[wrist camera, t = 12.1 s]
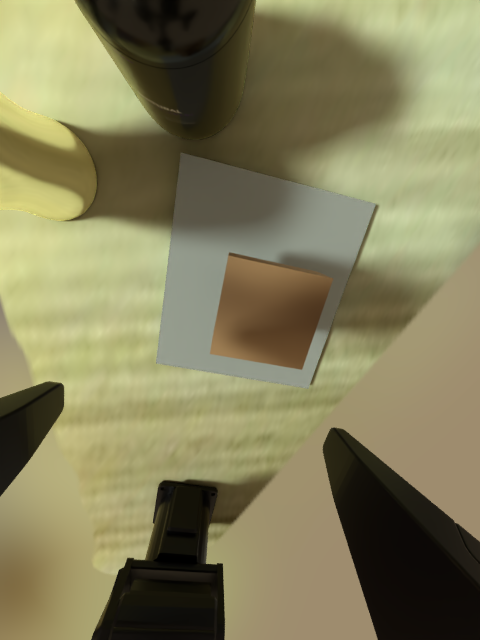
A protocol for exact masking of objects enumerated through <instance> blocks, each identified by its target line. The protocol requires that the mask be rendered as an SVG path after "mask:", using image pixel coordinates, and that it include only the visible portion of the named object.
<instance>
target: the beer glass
mask: <svg viewBox="0 0 480 640" xmlns="http://www.w3.org/2000/svg"><path fill="white" fill-rule="evenodd" d="M96 189H97V175H96V170H95V166H94V163H93V160H92V158H91V156H90V154H89V152H88V150H87V148H86V147H85V145H84V144H83V143H82V141H81V140H80V139H79V138H78V137H77V136H76V135H75V134H74V133H73V132H72V131H71V130H70V129H68V128H67V127H66V126H64V125H62V124H61V123H59V122H57V121H55V120H53V119H51V118H48V117H46V116H43V115H40V114H37V113H34V112H31V111H28V110H26V109H24V108H22V107H20V106H19V105H17V104H16V103H14V102H13V101H11V100H10V99H9V98H7V97H6V96H5V95H4V94H3V93H1V92H0V210H20V211H24V212H28V213H30V214H33V215H36V216H39V217H42V218H46V219H50V220H56V221H65V220H70V219H74V218H76V217H78V216H80V215H82V214H83V213H84V212H85V211H86V210H87V209H88V208H89V207H90V205H91V204H92V202H93V200H94V197H95V194H96Z"/></svg>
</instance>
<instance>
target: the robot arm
mask: <svg viewBox="0 0 480 640" xmlns="http://www.w3.org/2000/svg"><path fill="white" fill-rule="evenodd" d="M63 408H64V385H63V384H62V383H57V382H50V381H49V382H45V383H42V384H39V385H36V386H33V387H30V388H28V389H25V390H22V391H19V392H16V393H13V394H10V395H7V396H5V397H2V398H0V496H1V495H2V494H3V492H4V491H5V490H6V489H7V488H8V486H9V485H10V484H11V483H12V481H13V480H14V479H15V477H16V476H17V475H18V474H19V473H20V471H21V470H22V469H23V468H24V466H25V465H26V464H27V463H28V461H29V460H30V458H31V457H32V456H33V454H34V453H35V451H36V450H37V448H38V447H39V445H40V444H41V442H42V441H43V439H44V438H45V436H46V435H47V433H48V432H49V430H50V429H51V427H52V426H53V424H54V423H55V421H56V420H57V419H58V417H59V416H60V414H61V412H62V410H63ZM323 454H324V459H325V463H326V468H327V472H328V477H329V481H330V485H331V490H332V494H333V498H334V502H335V505H336V509H337V511H338V515H339V518H340V521H341V524H342V528H343V531H344V534H345V537H346V540H347V543H348V546H349V550H350V553H351V556H352V559H353V562H354V565H355V568H356V572H357V575H358V578H359V581H360V585H361V587H362V591H363V594H364V597H365V600H366V603H367V607H368V610H369V613H370V616H371V619H372V622H373V625H374V629H375V632H376V635H377V638H378V640H480V542H479V541H478V540H477V539H476V538H474V537H473V536H472V535H471V534H470V533H468V532H467V531H466V530H465V529H464V528H462V527H461V526H460V525H459V524H457V523H455V522H454V520H453V519H451V518H450V517H449V516H448V515H447V514H445V513H444V512H443V511H442V510H441V509H439V508H438V507H437V506H436V505H434V504H433V503H432V502H431V501H430V500H428V499H427V498H426V497H425V496H424V495H422V494H421V493H420V492H419V491H418V490H416V489H415V488H414V487H413V486H412V485H410V484H409V483H408V482H407V481H405V480H404V479H403V478H402V477H400V476H399V475H398V474H397V473H396V472H395V471H393V470H392V469H391V468H390V467H389V466H387V465H386V464H385V463H384V462H382V461H381V460H380V459H379V458H378V457H376V456H375V455H374V454H373V453H372V452H370V451H369V450H368V449H367V448H365V447H364V446H363V445H362V444H361V443H359V442H358V441H357V440H356V439H355V438H353V437H352V436H351V435H350V434H349V433H347V432H346V431H345V430H343V429H340V428H331V429H330V431H329V433H328V435H327V438H326V440H325V442H324V445H323ZM217 492H218V490H217V489H216V488H212V487H203V486H194V485H185V484H177V483H168V482H161V483H160V484H159V487H158V492H157V498H156V505H155V512H154V518H153V523H154V527H153V531H152V535H151V539H150V543H149V547H148V551H147V554H146V558H145V560H134V558H127V561H126V564H125V567H124V568H122V569H120V570H119V572H118V575H117V578H116V581H115V584H114V587H113V590H112V592H111V595H110V598H109V600H108V602H107V605H106V607H105V609H104V611H103V613H102V615H101V618H100V620H99V622H98V624H97V626H96V629H95V631H94V633H93V636H92V639H91V640H224V636H225V617H224V585H223V564H221V563H220V564H219V563H217V565H215V564H206V556H207V542H208V528H209V525H210V521H211V517H212V513H213V510H214V506H215V502H216V498H217Z"/></svg>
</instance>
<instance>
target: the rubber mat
mask: <svg viewBox="0 0 480 640" xmlns="http://www.w3.org/2000/svg"><path fill="white" fill-rule="evenodd" d="M375 205H376V204H375V203H371V202H367V201H363V200H359V199H356V198H352V197H348V196H344V195H341V194H337V193H333V192H329V191H325V190H322V189H318V188H314V187H310V186H306V185H303V184H299V183H295V182H291V181H288V180H284V179H280V178H276V177H272V176H269V175H265V174H261V173H257V172H253V171H250V170H246V169H242V168H238V167H235V166H231V165H227V164H223V163H219V162H216V161H212V160H208V159H204V158H200V157H197V156H193V155H189V154H185V153H182V152H181V157H180V165H179V174H178V182H177V190H176V199H175V207H174V216H173V224H172V233H171V241H170V250H169V258H168V266H167V275H166V283H165V292H164V300H163V309H162V317H161V325H160V334H159V342H158V351H157V359H156V363H157V364H163V365H169V366H175V367H181V368H187V369H193V370H199V371H205V372H211V373H217V374H223V375H229V376H235V377H241V378H247V379H253V380H259V381H265V382H271V383H277V384H283V385H289V386H295V387H301V388H307V389H308V388H309V385H310V383H311V380H312V377H313V374H314V372H315V369H316V366H317V363H318V361H319V358H320V355H321V353H322V350H323V347H324V344H325V342H326V339H327V336H328V333H329V331H330V328H331V325H332V322H333V320H334V317H335V314H336V312H337V309H338V306H339V303H340V301H341V298H342V295H343V292H344V290H345V287H346V284H347V282H348V279H349V276H350V273H351V271H352V268H353V265H354V262H355V260H356V257H357V254H358V251H359V249H360V246H361V243H362V241H363V238H364V235H365V232H366V230H367V227H368V224H369V221H370V219H371V216H372V213H373V211H374V208H375ZM229 252H231V253H235V254H240V255H244V256H249V257H253V258H258V259H262V260H267V261H271V262H276V263H280V264H285V265H290V266H294V267H299V268H303V269H308V270H312V271H317V272H319V273H322V274H324V275H326V276H329V277H331V278H333V281H332V284H331V287H330V290H329V293H328V296H327V299H326V302H325V305H324V308H323V310H322V313H321V316H320V319H319V322H318V325H317V328H316V331H315V334H314V337H313V340H312V343H311V345H310V348H309V351H308V354H307V357H306V360H305V363H304V366H303V369H302V370H300V369H294V368H288V367H282V366H277V365H271V364H265V363H259V362H253V361H248V360H242V359H236V358H230V357H224V356H218V355H213V354H210V350H211V343H212V337H213V332H214V327H215V322H216V316H217V311H218V306H219V301H220V296H221V291H222V286H223V280H224V275H225V270H226V265H227V260H228V255H229Z"/></svg>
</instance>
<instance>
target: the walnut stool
mask: <svg viewBox="0 0 480 640" xmlns="http://www.w3.org/2000/svg"><path fill="white" fill-rule="evenodd" d="M332 281H333V278H331V277H329V276H326V275H324V274H322V273H319V272H317V271H312V270H308V269H303V268H299V267H294V266H290V265H285V264H280V263H276V262H271V261H267V260H262V259H258V258H253V257H249V256H244V255H240V254H235V253H231V252H229V255H228V260H227V265H226V270H225V275H224V280H223V286H222V291H221V296H220V301H219V306H218V311H217V316H216V322H215V327H214V332H213V337H212V343H211V350H210V354H213V355H218V356H224V357H230V358H236V359H242V360H248V361H253V362H259V363H265V364H271V365H277V366H282V367H288V368H294V369H300V370H302V369H303V366H304V363H305V360H306V357H307V354H308V351H309V348H310V345H311V343H312V340H313V337H314V334H315V331H316V328H317V325H318V322H319V319H320V316H321V313H322V310H323V308H324V305H325V302H326V299H327V296H328V293H329V290H330V287H331V284H332Z"/></svg>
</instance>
